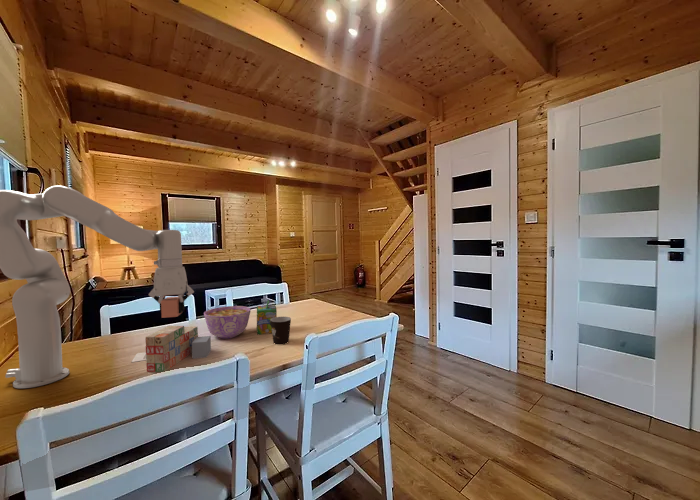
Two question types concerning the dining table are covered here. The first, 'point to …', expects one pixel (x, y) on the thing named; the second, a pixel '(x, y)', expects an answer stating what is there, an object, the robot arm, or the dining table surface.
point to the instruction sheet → (139, 357)
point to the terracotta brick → (170, 307)
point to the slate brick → (201, 347)
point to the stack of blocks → (169, 347)
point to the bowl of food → (227, 320)
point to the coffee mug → (280, 329)
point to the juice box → (265, 318)
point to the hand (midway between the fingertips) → (172, 312)
